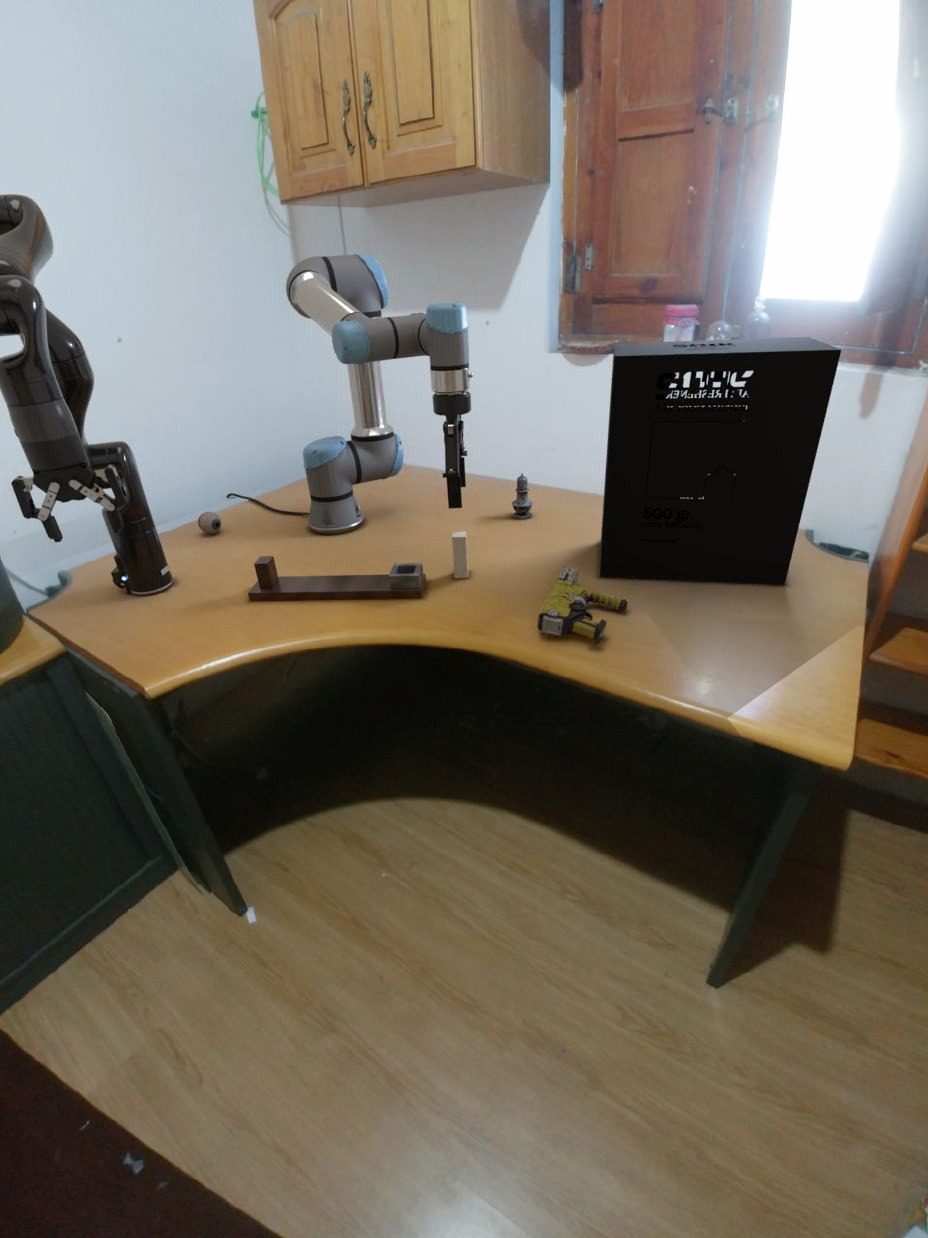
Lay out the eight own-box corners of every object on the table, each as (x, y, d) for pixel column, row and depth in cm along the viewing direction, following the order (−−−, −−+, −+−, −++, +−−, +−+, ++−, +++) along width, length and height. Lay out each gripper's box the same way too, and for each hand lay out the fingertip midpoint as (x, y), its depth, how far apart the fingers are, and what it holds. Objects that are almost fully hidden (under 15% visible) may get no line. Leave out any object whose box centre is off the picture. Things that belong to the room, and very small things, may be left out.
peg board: (249, 601, 132) (241, 568, 128) (262, 584, 139) (254, 552, 135) (421, 598, 129) (418, 564, 125) (426, 581, 136) (423, 548, 132)
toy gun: (633, 576, 125) (562, 563, 129) (620, 630, 105) (537, 613, 109) (629, 596, 128) (560, 583, 132) (616, 653, 108) (534, 635, 111)
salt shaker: (531, 519, 165) (531, 476, 159) (510, 518, 166) (509, 476, 160) (533, 511, 170) (534, 469, 164) (513, 511, 171) (512, 469, 165)
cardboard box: (763, 546, 142) (808, 336, 120) (784, 584, 125) (841, 349, 103) (600, 540, 150) (614, 343, 127) (599, 576, 133) (614, 355, 110)
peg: (454, 578, 136) (451, 537, 131) (455, 572, 139) (453, 531, 134) (467, 578, 136) (465, 536, 131) (468, 572, 139) (466, 531, 134)
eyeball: (211, 538, 165) (205, 517, 162) (196, 534, 168) (190, 514, 165) (229, 530, 169) (223, 510, 166) (214, 527, 172) (209, 507, 169)
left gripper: (105, 421, 93) (139, 520, 101) (0, 433, 89) (44, 534, 98) (97, 432, 87) (134, 536, 95) (-17, 445, 83) (32, 552, 91)
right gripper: (466, 403, 107) (472, 516, 117) (473, 380, 128) (477, 478, 139) (424, 404, 107) (434, 518, 118) (438, 382, 129) (445, 479, 139)
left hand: (88, 535), depth 96 cm, fingers open, 8 cm apart
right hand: (457, 496), depth 128 cm, fingers open, 13 cm apart
